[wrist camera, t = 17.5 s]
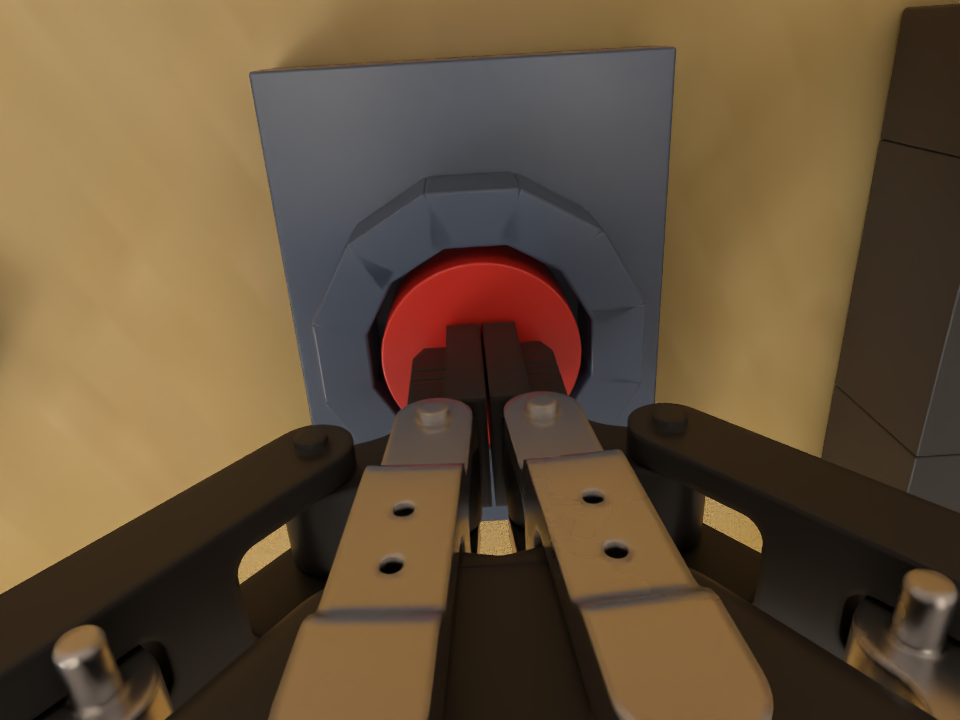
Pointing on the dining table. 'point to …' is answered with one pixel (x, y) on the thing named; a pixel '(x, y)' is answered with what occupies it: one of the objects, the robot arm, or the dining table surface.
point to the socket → (909, 281)
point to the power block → (470, 205)
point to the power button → (477, 309)
